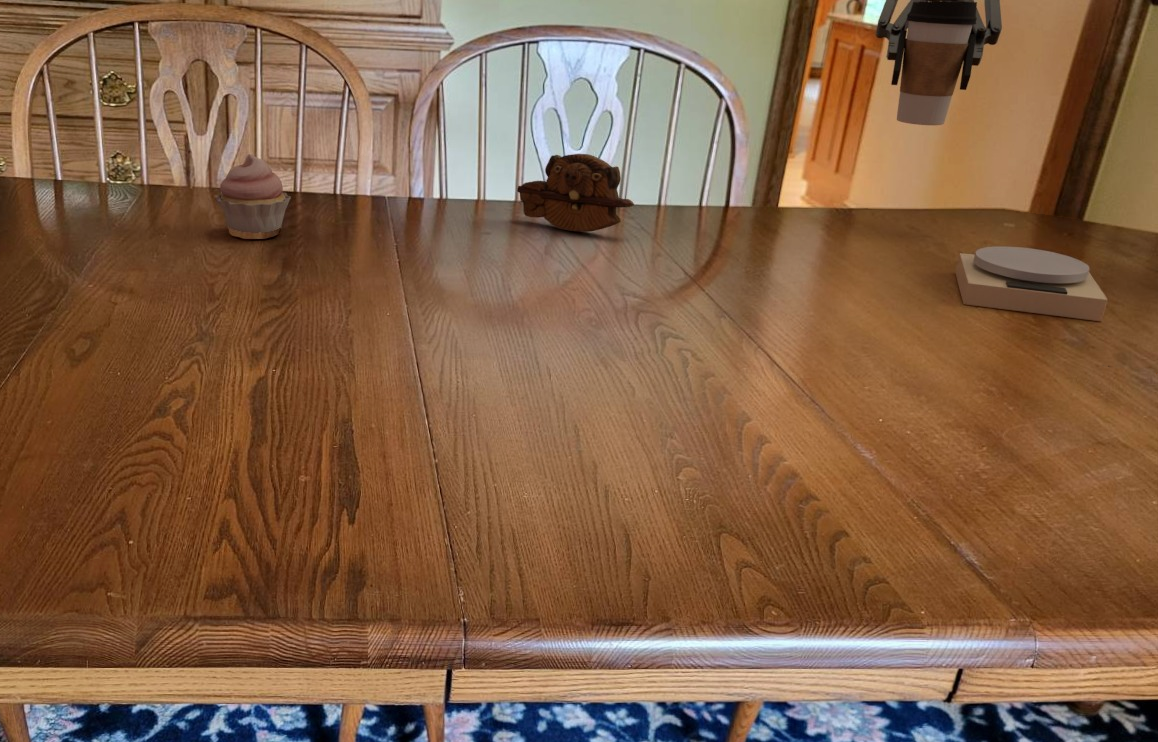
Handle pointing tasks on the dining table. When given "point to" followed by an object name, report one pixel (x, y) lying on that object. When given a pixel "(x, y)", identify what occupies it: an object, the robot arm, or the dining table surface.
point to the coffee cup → (933, 59)
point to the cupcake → (252, 197)
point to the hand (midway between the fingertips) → (930, 80)
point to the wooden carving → (575, 193)
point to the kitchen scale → (1029, 282)
